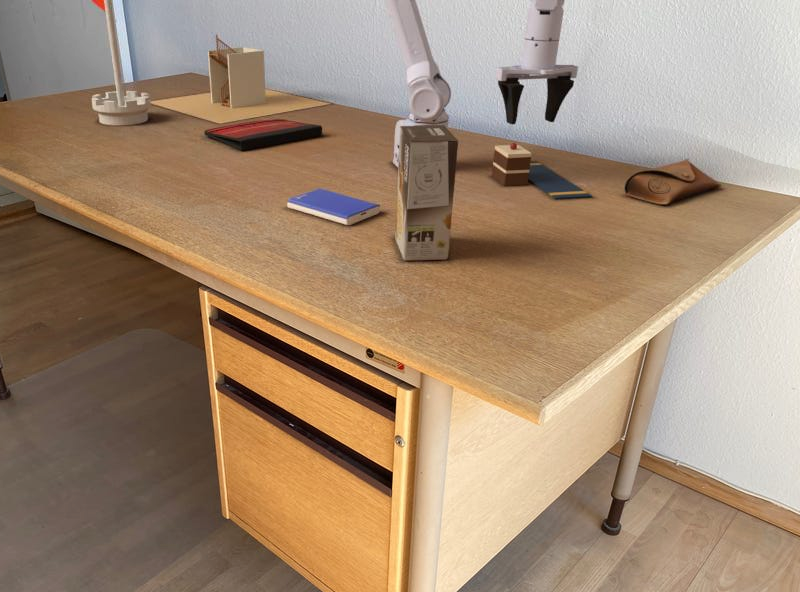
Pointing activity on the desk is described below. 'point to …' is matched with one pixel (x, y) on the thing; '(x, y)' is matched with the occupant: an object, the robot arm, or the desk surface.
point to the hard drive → (334, 206)
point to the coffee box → (425, 191)
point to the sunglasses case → (669, 183)
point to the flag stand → (119, 87)
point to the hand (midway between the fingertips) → (530, 122)
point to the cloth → (553, 183)
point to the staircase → (236, 89)
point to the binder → (263, 133)
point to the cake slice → (511, 165)
